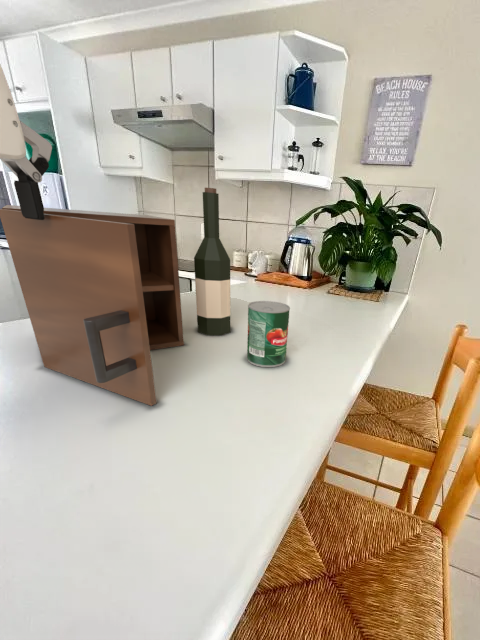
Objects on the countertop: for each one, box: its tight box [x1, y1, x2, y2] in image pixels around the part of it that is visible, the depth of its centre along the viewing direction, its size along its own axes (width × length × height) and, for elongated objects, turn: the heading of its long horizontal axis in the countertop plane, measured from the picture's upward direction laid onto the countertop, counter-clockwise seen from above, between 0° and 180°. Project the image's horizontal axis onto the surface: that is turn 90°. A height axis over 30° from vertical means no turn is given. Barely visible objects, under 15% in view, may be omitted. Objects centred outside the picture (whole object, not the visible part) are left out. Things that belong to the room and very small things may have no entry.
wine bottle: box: [193, 187, 231, 336], centre depth 72 cm, size 8×8×30 cm
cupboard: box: [1, 204, 185, 351], centre depth 63 cm, size 18×24×24 cm
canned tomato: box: [246, 300, 291, 368], centre depth 63 cm, size 8×8×11 cm
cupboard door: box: [0, 208, 158, 407], centre depth 43 cm, size 6×24×24 cm, turn 65°
